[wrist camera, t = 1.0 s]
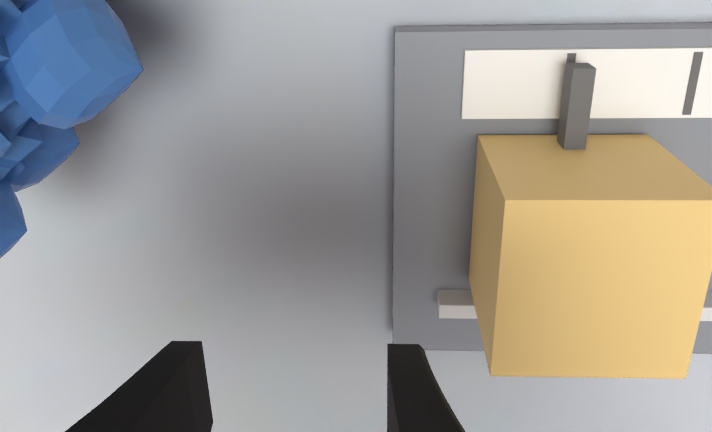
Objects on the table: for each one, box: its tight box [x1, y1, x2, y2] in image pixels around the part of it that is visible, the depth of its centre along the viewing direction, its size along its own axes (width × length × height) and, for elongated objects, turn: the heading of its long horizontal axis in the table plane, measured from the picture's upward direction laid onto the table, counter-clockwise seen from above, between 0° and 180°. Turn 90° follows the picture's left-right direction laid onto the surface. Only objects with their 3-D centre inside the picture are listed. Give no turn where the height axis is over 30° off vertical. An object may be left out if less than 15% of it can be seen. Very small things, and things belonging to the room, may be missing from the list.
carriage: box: [469, 63, 712, 379], centre depth 18 cm, size 7×5×5 cm
